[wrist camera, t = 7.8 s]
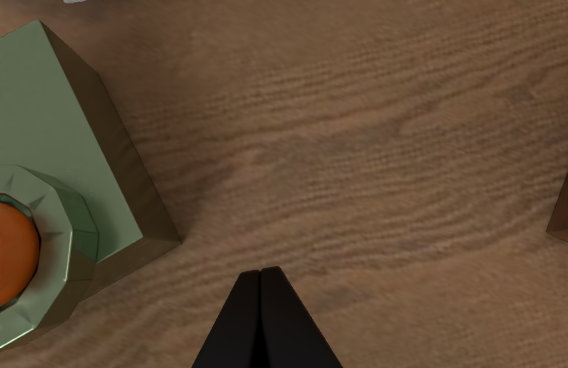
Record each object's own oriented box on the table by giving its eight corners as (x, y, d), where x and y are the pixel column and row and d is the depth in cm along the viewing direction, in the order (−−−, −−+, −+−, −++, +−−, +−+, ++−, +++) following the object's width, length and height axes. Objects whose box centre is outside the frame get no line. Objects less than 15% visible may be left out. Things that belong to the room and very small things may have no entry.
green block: (195, 266, 20) (139, 269, 13) (27, 363, 20) (-122, 418, 13) (96, 71, 23) (8, -10, 16) (-54, 151, 22) (-212, 102, 15)
